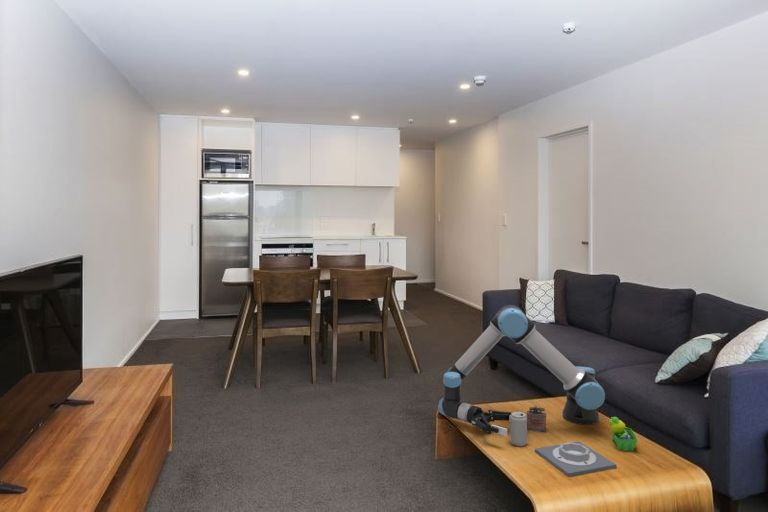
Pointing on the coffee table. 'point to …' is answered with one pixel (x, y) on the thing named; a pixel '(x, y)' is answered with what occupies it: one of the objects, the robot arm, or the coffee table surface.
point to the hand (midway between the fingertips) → (515, 427)
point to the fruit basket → (622, 435)
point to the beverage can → (518, 428)
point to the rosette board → (575, 469)
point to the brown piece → (536, 419)
